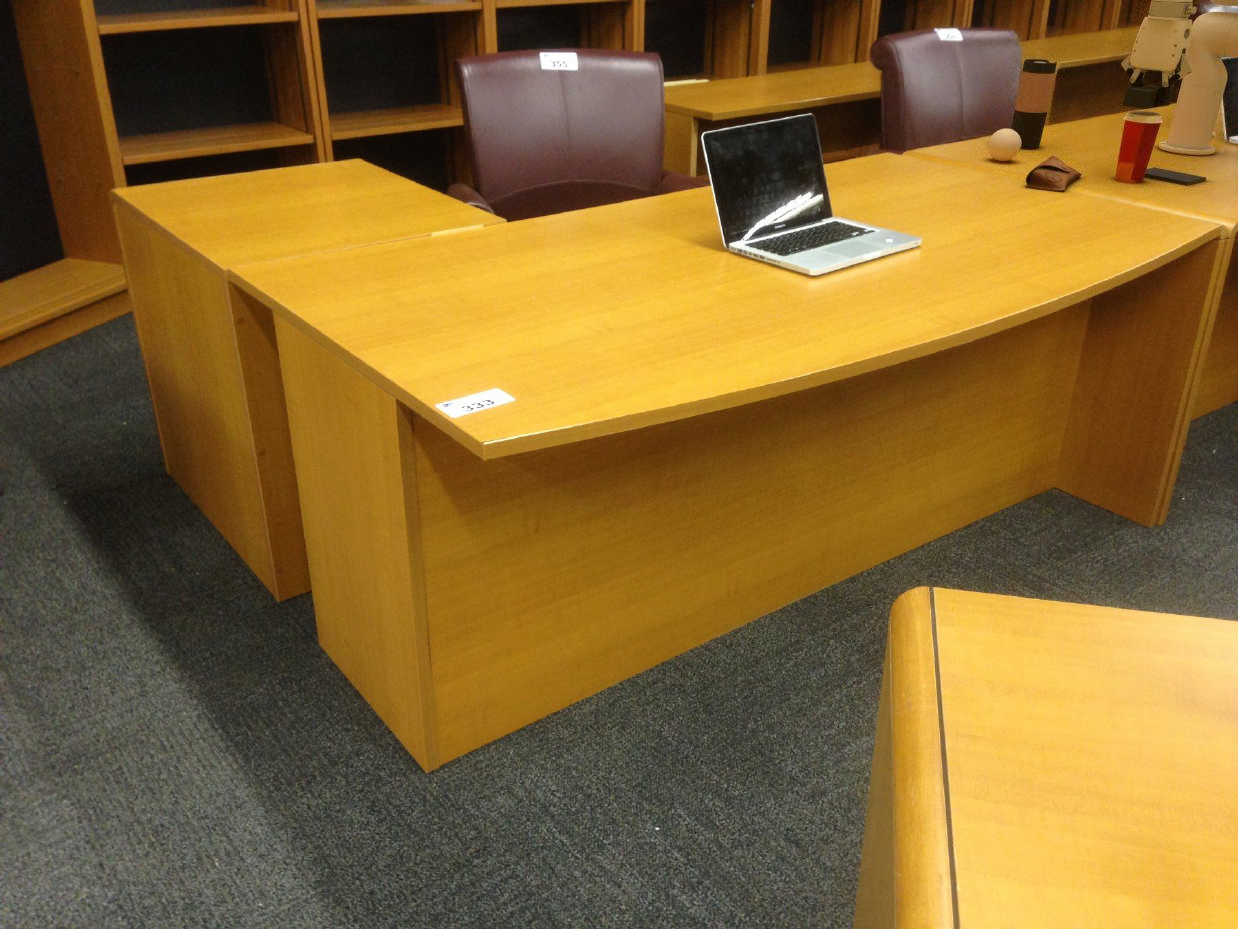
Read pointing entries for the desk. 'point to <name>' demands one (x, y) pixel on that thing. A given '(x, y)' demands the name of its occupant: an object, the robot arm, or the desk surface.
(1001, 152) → the cream ovoid piece
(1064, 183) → the sunglasses case
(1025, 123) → the travel mug
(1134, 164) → the paper cup
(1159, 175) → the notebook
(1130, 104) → the black block
